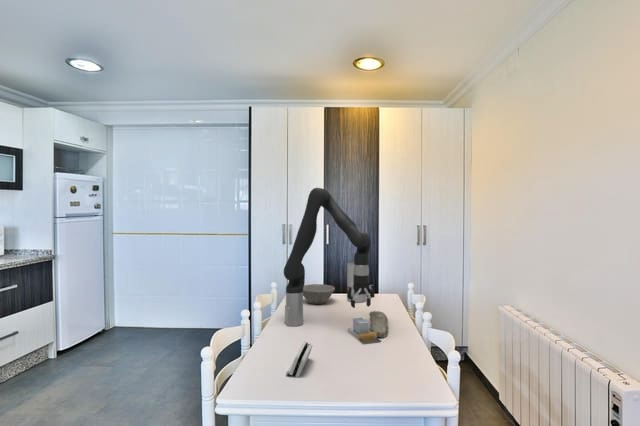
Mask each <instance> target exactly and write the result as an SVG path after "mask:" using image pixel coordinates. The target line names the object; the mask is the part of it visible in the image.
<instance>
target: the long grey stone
mask: <svg viewBox="0 0 640 426" xmlns="http://www.w3.org/2000/svg"><path fill="white" fill-rule="evenodd" d="M369 319H370V331H371V332H376V333H377V338H385V336H386V335H387V334H388V330H389V327H388V325H389V322H388V320H389V319H388V317H387V315H386V314H385V313H384V312H382V311H376V310H373V311H369Z"/></svg>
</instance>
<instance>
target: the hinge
mask: <svg viewBox="0 0 640 426" xmlns="http://www.w3.org/2000/svg"><path fill="white" fill-rule="evenodd" d="M313 346H314V345H313V344H312V343H308V342H307V341H303V342H302V343H301V345H300V347H299V349H298V351H297V353H296V355H295V357H294V359H293V360H292V363H291V364H290V366H289V368H288V369H287V371H286V373H285V377H288V375H289V376H290V375H291V376H294V377H295V378H299V377H300V376H301V374H302V371H303V369H304V367H305V365H306V364H307V361H308V359H309V357H310V355H311V351H312V348H313Z"/></svg>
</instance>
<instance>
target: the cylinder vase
mask: <svg viewBox="0 0 640 426" xmlns="http://www.w3.org/2000/svg"><path fill="white" fill-rule="evenodd" d="M346 268H347V270H346V271H347V272H346V273H347V280H346V283H347V285H346V288H347V287H348V286H350V287H352V286H353V285H354V283H353V269H354V261H353V262H347V265H346ZM353 292H354V289H352V291H351V296H352V293H353ZM346 299H347V301H348V302H350V303H351V299H348V298H347V297H346ZM366 300H367V297H366V295H365V294H361V295H358V296H357V297H356V298H355V304H357V303H360V304H361V303H364V302H366Z"/></svg>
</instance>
